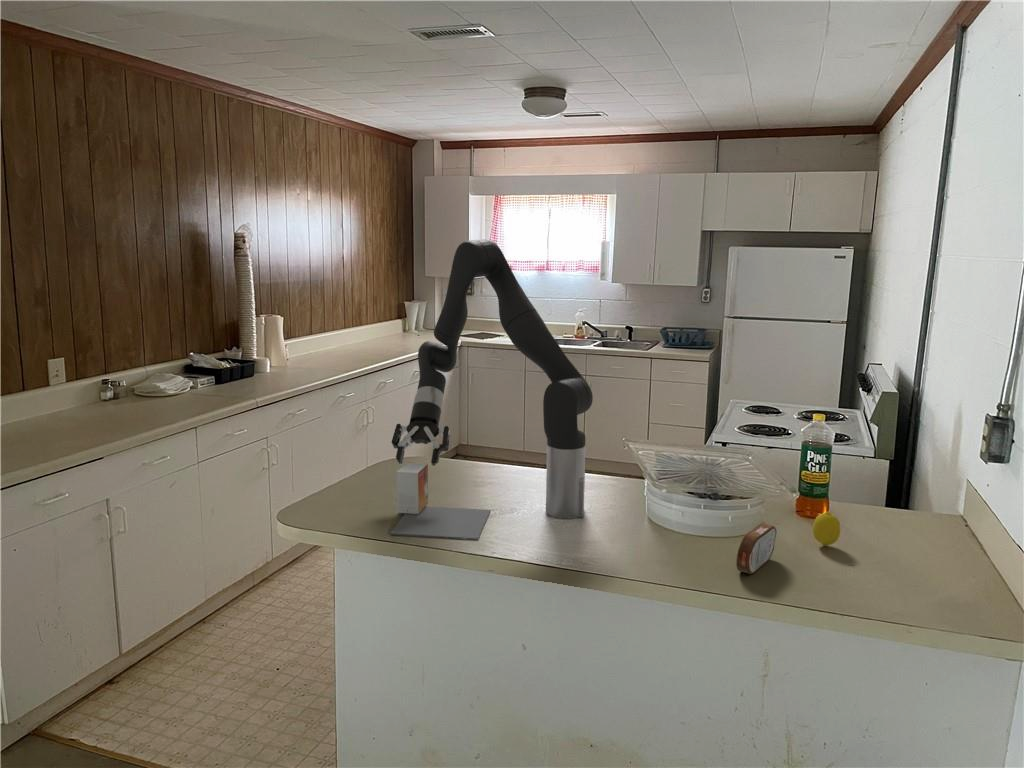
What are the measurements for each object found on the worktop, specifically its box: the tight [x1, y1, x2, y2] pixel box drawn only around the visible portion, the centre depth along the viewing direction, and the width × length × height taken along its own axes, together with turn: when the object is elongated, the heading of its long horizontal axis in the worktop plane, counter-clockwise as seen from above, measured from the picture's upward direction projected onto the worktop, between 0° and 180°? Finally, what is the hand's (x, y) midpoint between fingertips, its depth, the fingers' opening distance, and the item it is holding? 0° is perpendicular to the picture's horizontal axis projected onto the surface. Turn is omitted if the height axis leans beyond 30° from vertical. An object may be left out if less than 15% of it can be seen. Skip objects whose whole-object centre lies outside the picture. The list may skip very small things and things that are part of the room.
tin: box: [735, 521, 777, 575], centre depth 156 cm, size 15×3×8 cm, turn 141°
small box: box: [395, 462, 429, 514], centre depth 186 cm, size 8×6×10 cm
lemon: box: [812, 511, 841, 547], centre depth 166 cm, size 6×6×8 cm
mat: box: [390, 505, 491, 540], centre depth 179 cm, size 20×18×1 cm
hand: (416, 463), depth 189 cm, fingers open, 8 cm apart
